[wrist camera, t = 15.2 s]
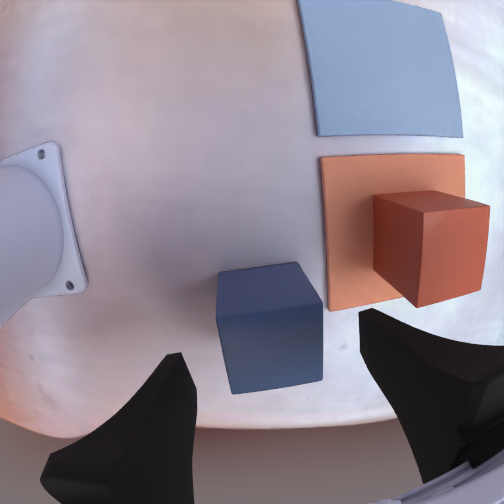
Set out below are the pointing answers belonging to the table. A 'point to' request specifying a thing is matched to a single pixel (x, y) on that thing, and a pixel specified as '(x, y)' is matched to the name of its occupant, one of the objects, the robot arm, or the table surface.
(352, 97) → the blue mat
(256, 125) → the table surface
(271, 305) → the slate-blue block
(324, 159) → the terracotta mat
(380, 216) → the terracotta block
